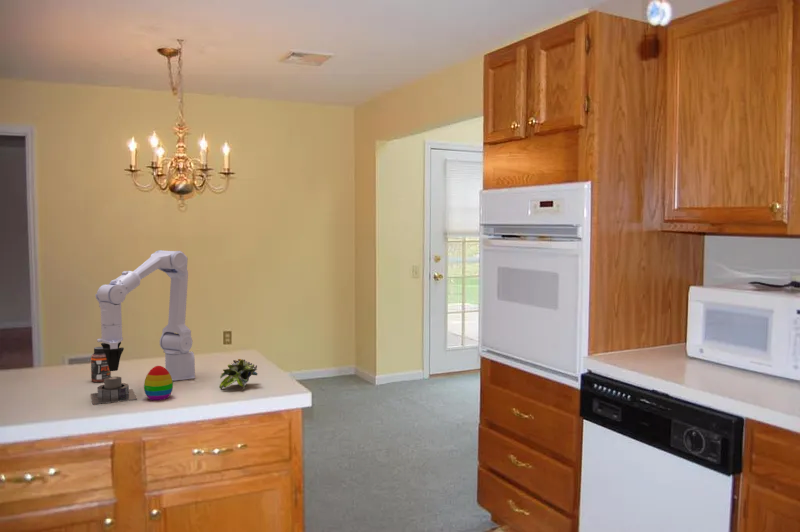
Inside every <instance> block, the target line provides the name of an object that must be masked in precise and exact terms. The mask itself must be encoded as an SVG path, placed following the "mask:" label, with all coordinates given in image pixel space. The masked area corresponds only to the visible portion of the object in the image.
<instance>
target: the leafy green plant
mask: <svg viewBox="0 0 800 532" xmlns="http://www.w3.org/2000/svg"><path fill="white" fill-rule="evenodd" d="M257 368H258V365H255V364H253V363H252V362H250V361H248V360H247V361H246V359H242V358H237V360H236V359H235V360H234V359H233V362H231V364H230V363H228V364H227V368H223V369H222V371H223V372H221V375H220V376H219V379H222V378H223V377H225V378H224V379H222V381H221V382H220V384H219V386H218V387H219V389H220V390H221V389H222V390H223V388H227V387H229V386H230V385H232V384H234V383H235V382H237V384H238V385H239V386H240V387H243V388H242V391H244V390H245V387H246V385H247V383H248V382H249V379H250V377H251V376H258V375H259V374H258V373H257V370H258V369H257Z"/></svg>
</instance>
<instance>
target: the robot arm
mask: <svg viewBox="0 0 800 532" xmlns="http://www.w3.org/2000/svg"><path fill="white" fill-rule="evenodd" d="M156 270H159V271H161V272H163V273H165V274H166V275H167V276H168V277H169V278H170V287H169V290H170V291H169V303H168V304H169V305H168V306H169V307H168V320H167V325H165V327H163V328H162V333H161V336H160V338H159V346H160V348H161V349H162V350H163V353H165V354H164V358H165V359H164V362H165V363H164V365H165V366H164V368H165V369H166V370H167V371H168V372H169V373H170V375H171V378H172V382H175V381H184V380H192V379H196V373H195V372H196V366H195V365H196V364H195V363H196V362H195V354H194V352H193V351H190V350H191V349H192V346H193V337H192V330H191V329H190V328H189V327H188V326H187V325H186V314H187V313H186V312H187V301H188V300H187V297H188V281H189V272H188V271H189V270H188V256H187V255H186V254H185V253H184V252H183V251H182V250H163V249H162V250H161V249H159V250H156V251H154V252H153V253H151V254H150V257H149V258H147V259H146V260H145V261H144V262H143V263H142V264H140V265H139V266H137V268H135V269H134V270H133V271H132V270H123V271H122V272H121V275H119V276H118V277H117V278H115V279H112V280H110V282H109V283H108V284H102V285H101V286H99V287H98V289H97V292H96V293H95V296H94V297H95V299H96V301H97V302H98V307H99V308H100V325H101V326H100V331H101V333H100V334H101V338H97V339H96V341H97V343H100V346H101V347H103V351H104V353H105V355H106V360H107V364H108V366H109V369H110V371H111V372H117V371H118V370H119V366H120V360H121V356H122V354H123V352H124V350H125V348H124V347H120V346H121V344H122V342H123V341H124V337H123V326H122V325H123V323H122V321H123V320H122V319H123V318H122V316H123V315H122V303H124V301H125V299H126V296H127V295H128V294H129V293H131V292H132V291H134V290H135V289H136V288H137V287H139V286H140V284H141V280H142V279H144V278H146V277H147V276H149V275H151V274H152V273H154V272H155V271H156Z"/></svg>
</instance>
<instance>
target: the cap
mask: <svg viewBox="0 0 800 532" xmlns="http://www.w3.org/2000/svg"><path fill="white" fill-rule="evenodd" d="M103 383H104V384H103V385H104V389H118V388H122V383H123V381H122V377H121V376H111V377H108V378H105V379H104V382H103Z"/></svg>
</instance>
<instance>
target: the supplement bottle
mask: <svg viewBox="0 0 800 532" xmlns="http://www.w3.org/2000/svg"><path fill="white" fill-rule="evenodd" d="M90 370H91V371H90V372H91V373H90V375H91V379H90V380H91V381H92V382H93V383H104V379H105V378H108V377H112V374H111V373H112V371H110V369H109V366H108V364H107V360H106V355H105V353H104V351H103V347H102V346H96V347H93V353H92V355H91V356H90Z"/></svg>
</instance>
